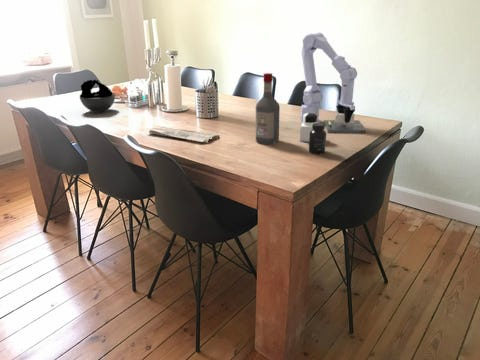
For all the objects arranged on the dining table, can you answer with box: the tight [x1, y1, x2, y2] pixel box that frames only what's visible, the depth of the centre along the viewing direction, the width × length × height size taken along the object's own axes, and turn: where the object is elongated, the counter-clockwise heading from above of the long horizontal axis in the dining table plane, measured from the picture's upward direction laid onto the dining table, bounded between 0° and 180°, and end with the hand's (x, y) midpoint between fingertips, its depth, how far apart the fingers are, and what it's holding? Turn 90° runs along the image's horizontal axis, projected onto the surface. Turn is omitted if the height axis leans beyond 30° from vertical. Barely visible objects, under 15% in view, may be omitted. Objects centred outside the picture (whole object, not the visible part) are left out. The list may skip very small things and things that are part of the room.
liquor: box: [255, 72, 280, 145], centre depth 172 cm, size 9×9×30 cm
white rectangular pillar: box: [334, 112, 355, 125], centre depth 195 cm, size 3×9×6 cm, turn 77°
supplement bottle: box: [308, 122, 327, 155], centre depth 162 cm, size 7×7×12 cm
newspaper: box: [148, 125, 220, 144], centre depth 187 cm, size 35×12×4 cm, turn 62°
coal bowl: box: [79, 79, 116, 113], centre depth 233 cm, size 20×20×19 cm
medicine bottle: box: [299, 113, 317, 143], centre depth 177 cm, size 7×7×12 cm
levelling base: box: [323, 119, 367, 134], centre depth 196 cm, size 18×18×3 cm
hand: (344, 121), depth 195 cm, fingers closed on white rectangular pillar, 5 cm apart
